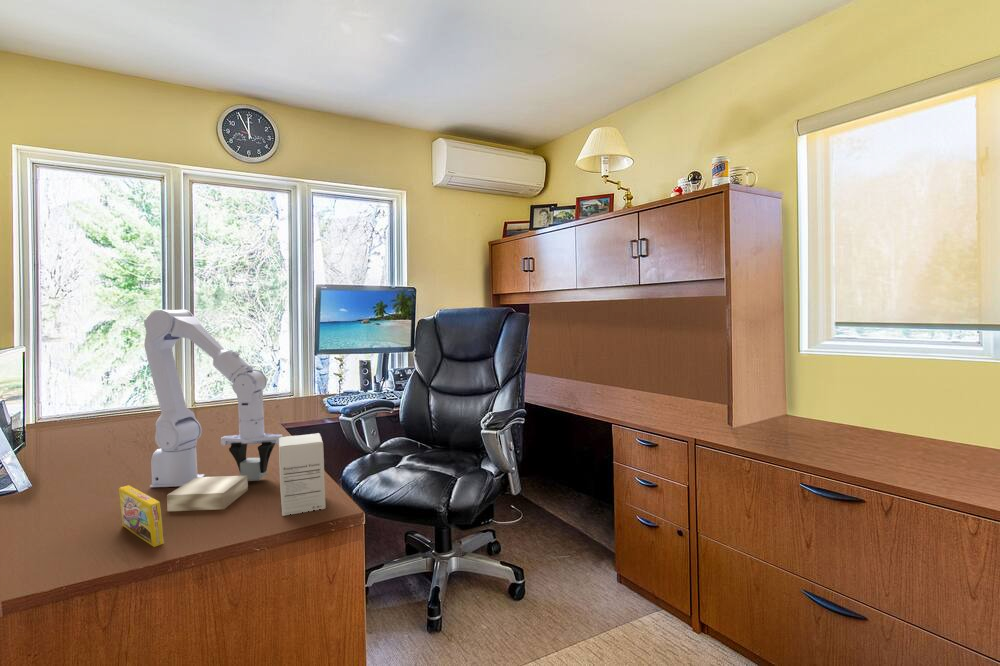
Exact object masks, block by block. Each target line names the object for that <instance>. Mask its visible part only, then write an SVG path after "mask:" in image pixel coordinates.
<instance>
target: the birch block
mask: <svg viewBox="0 0 1000 666" xmlns="http://www.w3.org/2000/svg"><path fill="white" fill-rule="evenodd" d="M248 483H249V482H248V481H247V475H244V476H240V475H226V476H225V475H224V476H223V475H222V476H220V475H219V476H204V477H196V478H194V479H193V480H191V481H189V482H188V483H186V484H184V485H183V486H178V488H176V489H174V490H173V491H171V492H169V493H168V494H166V504H167V505H166V507H167V509H166V511H167V512H183V511H184V512H185V511H186V512H187V511H189V512H191V511H207V510H211V511H212V510H214V511H215V510H226V508H227V507H229V506H230V505H231V504H232V503H234V502H235V501H236V500H237V499H238V498H239V499H240V497H242V495H243V494H245V493H246V492H247V491H249V488H248V487H249V484H248Z"/></svg>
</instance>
